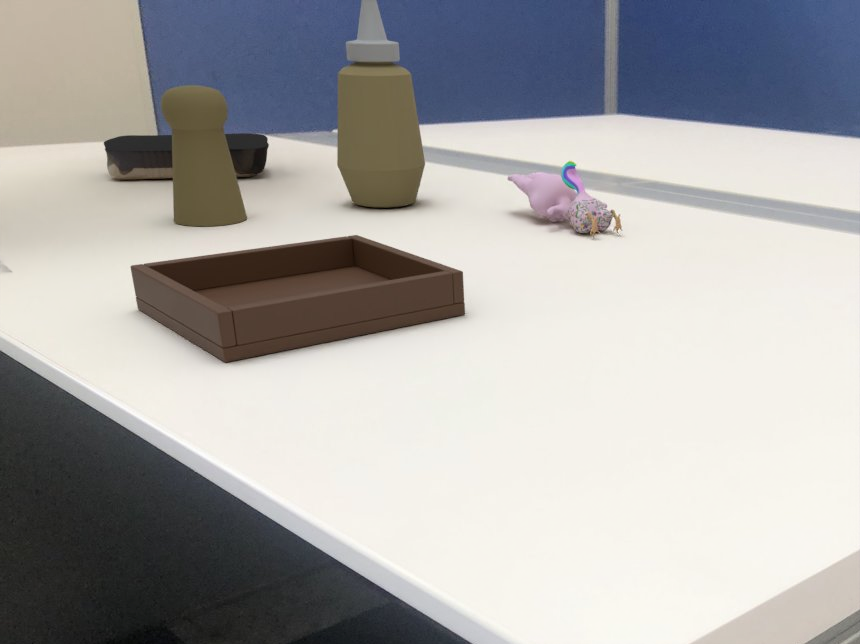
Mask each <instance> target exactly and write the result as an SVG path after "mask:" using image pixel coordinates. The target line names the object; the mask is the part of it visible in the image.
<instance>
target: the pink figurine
mask: <svg viewBox="0 0 860 644" xmlns="http://www.w3.org/2000/svg"><path fill="white" fill-rule="evenodd" d="M576 167H577V163H575V162H574V161H572V160H569V161H567V162H566V163H565V164H564V165H563V166H562V169H561V174H557V173H548V172H544V171H536V172H532V173H531V172H530V173H529V174H526V175H523V174H521V173H513V174H509V175H508V176H507V181H508V182H512V183H513V184H514V185H515V186H516V187H517V188H518V189H519V191H521V192H522V193H523V194H525V195H526V196H527V198H528V202H529V206H530V208H531V209H532V210H533V211H534V213H536V214H537V215H539V216H541V217H543V218H547V219H548V220H549V221H550V222H552V223H557V222H562V221H564V219H565V220H567V221H569V222H571V225H572V227H573V229H574V230H575V231H576V232H577V233H578V234H581V233H585V234H588V233H589V234H590V235H592V238H593V237H594V238H595V233H596V232H597V233H598V234H601V232H604V231H606V230H608V229H609V227H610V226H611V224H612V220H613V218H614V220H615V225H614V227H613V229H612V231H613V232H615V231H616V234H617V233H618V234H619V230H620V231H624V230H623V229H622V224H621V218H620V217H621V213H619V214H618V216H617V214H616V211H615V209H610V210H609V209H607V208H608V204H607V203H605V202H602V201H601V200H600V199H598V198H596V197H593V196H592V195H590V194H589V193H587V191H586V188H585V185H584V182H583V181H582V179H581V178H580V176H579V173H578V172H577V169H576Z"/></svg>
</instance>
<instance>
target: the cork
mask: <svg viewBox="0 0 860 644" xmlns="http://www.w3.org/2000/svg"><path fill="white" fill-rule="evenodd" d="M160 109H161V114H162V116H163V119H164V121H165V122H166V124H168V126H169V127H170V128H171V135H172V165H173V178H172V203H173V204H172V205H173V207H172V208H173V209H172V210H173V222H174V223H175V224H177V225H180V226H187V227H188V226H189V227H216V226H217V227H218V226H228V225H235V224H238V223H242V222H245V221H247V219H248V215H247V212H246V208H245V204H244V199H243V197H242V192H241V189H240V185H239V181H238V177H236V174H235V170H234V166H233V162H232V159H231V155H230V151H229V148H228V144H227V140H226V136H225V134H226V133H225V129H224V126H225V124H226V122H227V121H228V116H229V110H228V103H227V100H226V98H225V96H224V95H223V93H222V92H221V91H220V90H218V89H216V88H214V87H210V86H205V85H196V84H195V85H193V84H192V85H191V84H190V85H187V84H186V85H179V86H174V87H172V88H168V89H167V90H165V91H164V92H163V94H162V96H161V98H160Z"/></svg>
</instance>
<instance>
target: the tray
mask: <svg viewBox="0 0 860 644" xmlns="http://www.w3.org/2000/svg"><path fill="white" fill-rule="evenodd" d="M130 273H131V277H132V284H133V288H134V295H135V301H136V306H137V310H139V311H141V312H142V313H144V314H145V315H147V316H149V317H150V318H152V319H153V320H155V321H156V322H158V323H160V324H162V325H163V326H164V327H166V328H168V329H170V330H171V331H173V332H175V333H176V334H178V335H180V336H181V337H183V338H185V339H186V340H188V341H189V342H191V343H193V344H194V345H196V346H198V347H199V348H200V349H203V350H204V351H206V352H207V353H209V354H210V355H213V356H214V357H216V358H217V359H219V360H220V361H222V362H224V363H228V362H229V363H230V362H234V361H239V360H244V359H249V358H254V357H260V356H263V355H269V354H274V353H279V352H283V351H289V350H293V349H300V348H303V347H309V346H314V345H319V344H320V345H321V344H325V343H329V342H334V341H340V340H345V339H349V338H354V337H359V336H365V335H368V334H374V333H379V332H385V331H389V330H394V329H400V328H405V327H409V326H414V325H418V324H419V325H420V324H423V323H429V322H434V321H438V320H439V321H441V320H444V319H449V318H454V317H460V316H464V315H466V306H465V305H466V304H465V289H464V287H465V286H464V271H463V270H460V269H456V268H454V267H452V266H448V265H446V264H442V263H440V262H437V261H434V260H431V259H427V258H425V257H422V256H419V255H416V254H413V253H410V252H407V251H405V250H403V249H402V250H401V249H399V248H396V247H393V246H390V245H387V244H384V243H381V242H378V241H375V240H372V239H370V238H367V237H364V236H361V235H358V234H352V235H346V236H338V237H331V238H322V239H316V240H309V241H302V242H294V243H287V244H286V243H285V244H280V245H279V244H278V245H272V246H263V247H257V248H250V249H249V248H248V249H243V250H235V251H228V252H219V253H213V254H206V255H205V254H204V255H198V256H191V257H184V258H177V259H168V260H161V261H160V260H159V261H153V262H147V263H140V264H139V263H138V264H133V265H130Z"/></svg>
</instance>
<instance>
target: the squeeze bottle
mask: <svg viewBox="0 0 860 644" xmlns="http://www.w3.org/2000/svg"><path fill="white" fill-rule="evenodd" d="M359 11H360V12H359V20H358V28H357V36H356V39H354V40H348V41H346V42H345V51H346V60H347V61H349V62H353V63H351V64H348V65H346V66H344V67H342V68H341V69H340V70H339V71H338V72H337V145H336V146H337V149H336V151H337V152H336V153H337V160H336V161H337V162H336V163H337V168H338V170H339V172H340V175H341V177H342V180H343V182H344V184H345V187H346V189H347V192H348V194H349V196H350V199H351V201H352V203H353V204H355V205H357V206H363V207H366V208H374V209H392V208H400V207H404V206H408V205H412V204H414V203H415V202H416V201H417V198H418V194H419V190H420V186H421V182H422V178H423V174H424V170H425V166H426V160H425V154H424V147H423V142H422V141H423V140H422V135H421V128H420V124H419V123H420V122H419V118H418V117H419V116H418V109H417V103H416V97H415V90H414V84H413V78H412V73H411V72H410V71H409V70H408V69H407V68H406V67H403V66H401V65H398V64H396V63H397V62H400V61H401V58H400V43H399V42H398V41H393V40H389V39H388V38H387V33H386V31H385V27H384V23H383V19H382V17H381V13H380V9H379V4H378V2H377V0H361V2H360V10H359Z"/></svg>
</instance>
